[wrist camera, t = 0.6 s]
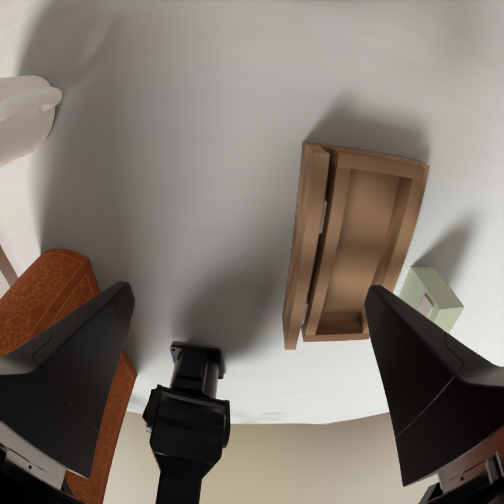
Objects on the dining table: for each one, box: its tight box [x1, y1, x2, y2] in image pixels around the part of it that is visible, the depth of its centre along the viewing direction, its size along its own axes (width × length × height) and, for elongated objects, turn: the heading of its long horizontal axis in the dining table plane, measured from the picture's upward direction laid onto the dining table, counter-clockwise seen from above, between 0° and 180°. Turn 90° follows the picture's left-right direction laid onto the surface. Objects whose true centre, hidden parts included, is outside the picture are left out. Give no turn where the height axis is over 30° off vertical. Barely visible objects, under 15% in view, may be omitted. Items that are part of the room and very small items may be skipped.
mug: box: [0, 75, 62, 167], centre depth 12 cm, size 12×8×10 cm
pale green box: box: [398, 266, 464, 334], centre depth 25 cm, size 12×4×7 cm, turn 178°
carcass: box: [282, 142, 430, 350], centre depth 22 cm, size 18×11×4 cm, turn 178°
